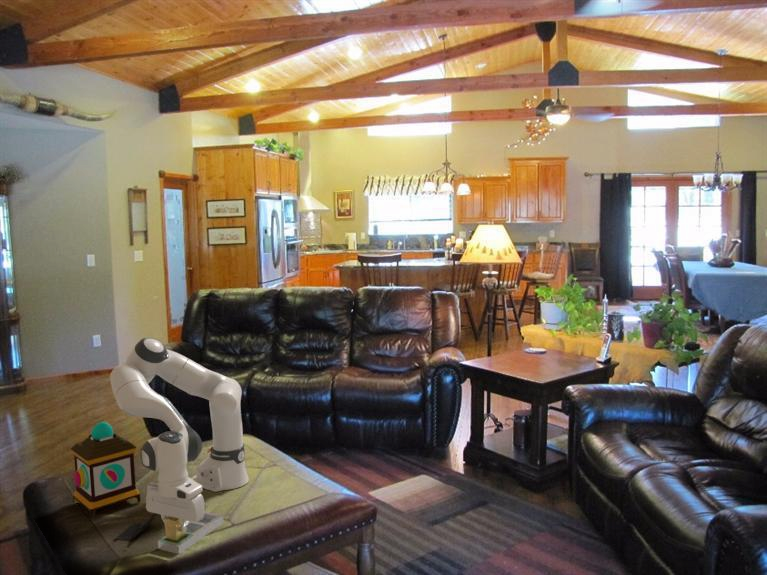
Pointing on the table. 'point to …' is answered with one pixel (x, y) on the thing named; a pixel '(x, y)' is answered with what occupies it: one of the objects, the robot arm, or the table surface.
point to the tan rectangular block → (174, 530)
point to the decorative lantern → (104, 469)
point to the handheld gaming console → (134, 530)
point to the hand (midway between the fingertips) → (175, 529)
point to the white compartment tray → (192, 533)
